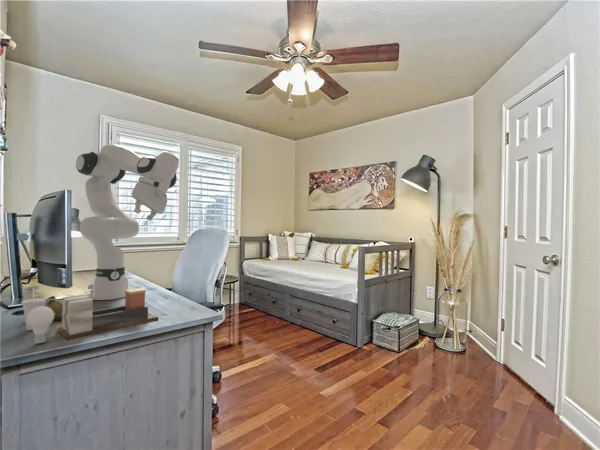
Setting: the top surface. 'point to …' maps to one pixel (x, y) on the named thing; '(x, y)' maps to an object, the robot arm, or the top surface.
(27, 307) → the smoothie
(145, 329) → the top surface
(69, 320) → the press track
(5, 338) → the top surface
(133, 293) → the plunger
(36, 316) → the lightbulb
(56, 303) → the ceramic sculpture
